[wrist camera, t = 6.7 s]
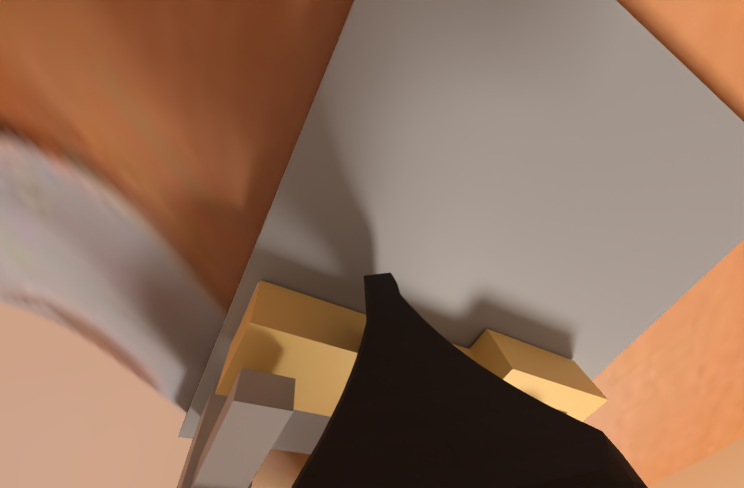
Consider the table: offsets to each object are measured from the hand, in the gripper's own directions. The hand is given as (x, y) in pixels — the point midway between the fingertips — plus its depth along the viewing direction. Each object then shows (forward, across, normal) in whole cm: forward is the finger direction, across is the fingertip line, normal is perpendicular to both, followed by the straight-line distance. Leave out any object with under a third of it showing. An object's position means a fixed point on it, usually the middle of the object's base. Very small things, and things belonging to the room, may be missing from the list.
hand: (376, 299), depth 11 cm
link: (+1, -2, +4) cm, 5 cm away
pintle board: (+2, -4, +2) cm, 5 cm away
